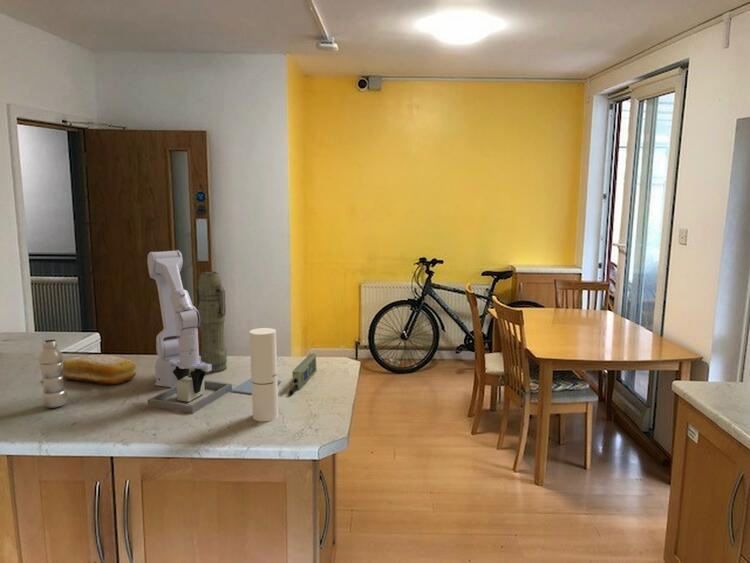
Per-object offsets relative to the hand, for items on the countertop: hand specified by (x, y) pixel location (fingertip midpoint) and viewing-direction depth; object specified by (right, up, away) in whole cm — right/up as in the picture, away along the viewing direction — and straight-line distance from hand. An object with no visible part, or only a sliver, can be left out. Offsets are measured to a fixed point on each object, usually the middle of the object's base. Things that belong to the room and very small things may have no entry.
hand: (191, 391), depth 175 cm
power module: (0, -2, 0) cm, 2 cm away
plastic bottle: (-38, -3, -6) cm, 39 cm away
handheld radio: (+33, 0, +14) cm, 36 cm away
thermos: (-1, +2, +28) cm, 28 cm away
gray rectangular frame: (0, -2, 0) cm, 2 cm away
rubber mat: (+18, 0, +10) cm, 21 cm away
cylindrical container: (+26, -5, -14) cm, 30 cm away
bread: (-37, 0, +18) cm, 41 cm away
